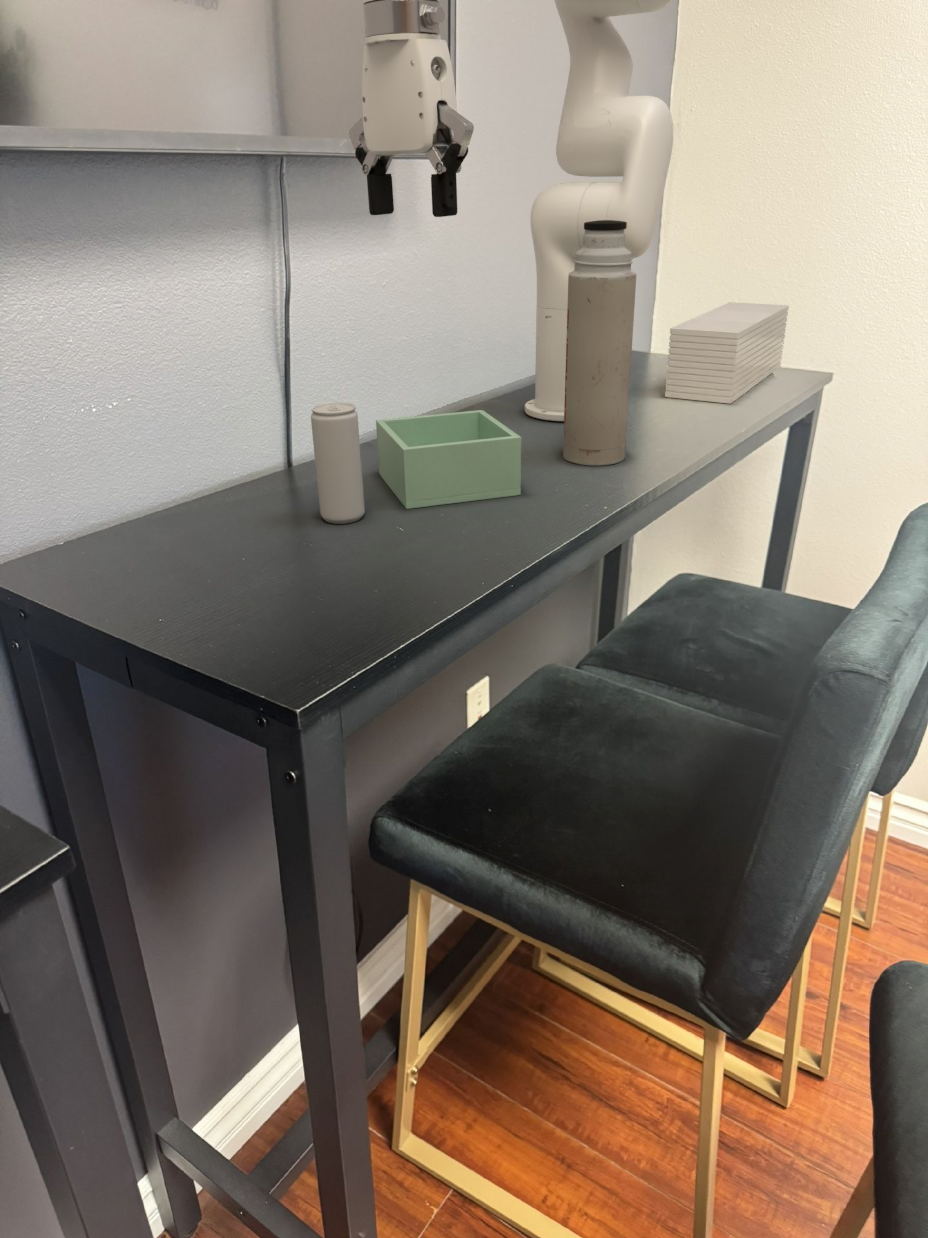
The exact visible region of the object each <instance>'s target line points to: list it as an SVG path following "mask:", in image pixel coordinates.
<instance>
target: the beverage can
mask: <svg viewBox="0 0 928 1238" xmlns="http://www.w3.org/2000/svg"><path fill="white" fill-rule="evenodd" d="M310 409H311V412H312V413H311V414H310V424H311V431H312V432H311V433H312V443H313V453H314V465H315V473H316V482H317V493H318V502H319V504H318V505H319V512H320V513H319V514H320V516H321V517H322V519H323V520H324V521H325V522H327V523H329V524H333V525H334V524H335V525H346V524H352V523H355V522H358V521H359V520H361V519H362V518H363V517H364V514H365V513H366V510H365V495H364V483H363V481H364V480H363V470H362V469H363V468H362V455H361V454H362V453H361V442H360V430H359V417H358V412H357V410H356V409H357V407H356V405H355V404H353V403H349V402H338V401H336V402H325V403H320V404H316V405H314V406H312V407H311V408H310Z"/></svg>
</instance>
